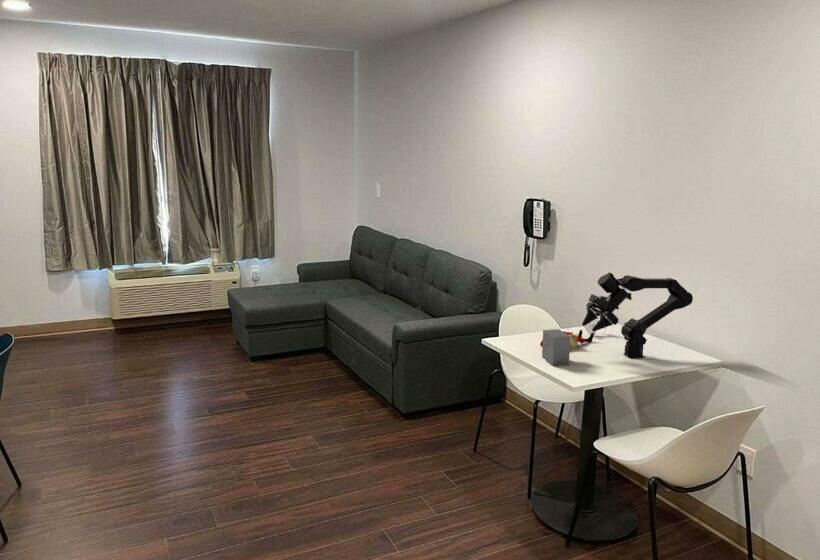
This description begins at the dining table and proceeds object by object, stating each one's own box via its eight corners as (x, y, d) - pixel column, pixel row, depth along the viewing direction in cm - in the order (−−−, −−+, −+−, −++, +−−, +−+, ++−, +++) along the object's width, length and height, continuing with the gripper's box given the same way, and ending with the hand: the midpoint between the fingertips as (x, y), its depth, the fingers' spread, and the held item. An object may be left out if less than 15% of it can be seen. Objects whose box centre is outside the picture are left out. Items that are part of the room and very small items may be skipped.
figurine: (597, 332, 287) (553, 333, 269) (595, 351, 288) (550, 353, 270) (577, 327, 296) (532, 327, 278) (574, 345, 297) (530, 347, 279)
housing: (557, 356, 268) (558, 329, 265) (568, 365, 257) (570, 336, 255) (542, 357, 266) (543, 330, 264) (552, 366, 256) (553, 337, 253)
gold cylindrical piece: (570, 346, 265) (570, 332, 264) (576, 350, 259) (577, 336, 258) (552, 347, 264) (552, 333, 262) (558, 351, 258) (558, 337, 257)
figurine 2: (597, 340, 297) (612, 329, 300) (589, 319, 293) (604, 308, 295) (586, 336, 304) (601, 325, 307) (578, 315, 300) (593, 305, 302)
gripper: (591, 283, 269) (565, 310, 269) (612, 292, 251) (585, 320, 251) (607, 300, 271) (582, 327, 272) (630, 310, 253) (603, 339, 254)
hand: (587, 328), depth 262 cm, fingers open, 9 cm apart
